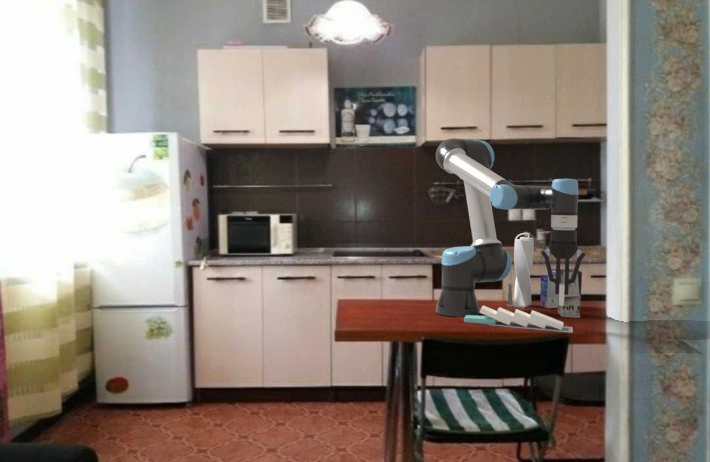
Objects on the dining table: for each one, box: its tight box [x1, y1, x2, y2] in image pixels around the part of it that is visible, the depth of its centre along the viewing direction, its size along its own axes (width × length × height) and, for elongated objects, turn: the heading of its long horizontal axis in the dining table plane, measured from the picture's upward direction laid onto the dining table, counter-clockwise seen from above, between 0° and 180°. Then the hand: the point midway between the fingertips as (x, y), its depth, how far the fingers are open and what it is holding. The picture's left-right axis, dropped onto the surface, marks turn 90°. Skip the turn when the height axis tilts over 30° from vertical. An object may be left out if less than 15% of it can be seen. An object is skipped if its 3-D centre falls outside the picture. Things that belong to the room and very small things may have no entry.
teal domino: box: [463, 315, 498, 325], centre depth 179 cm, size 2×5×10 cm
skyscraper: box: [506, 232, 535, 309], centre depth 211 cm, size 8×8×28 cm
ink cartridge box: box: [539, 268, 558, 309], centre depth 209 cm, size 10×6×14 cm, turn 104°
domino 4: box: [529, 310, 564, 330], centre depth 172 cm, size 2×5×10 cm
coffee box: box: [557, 268, 583, 319], centre depth 194 cm, size 9×6×16 cm
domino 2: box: [496, 306, 528, 327], centre depth 176 cm, size 2×5×10 cm
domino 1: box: [479, 304, 512, 325], centre depth 178 cm, size 2×5×10 cm
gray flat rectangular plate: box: [488, 320, 574, 334], centre depth 174 cm, size 25×8×1 cm, turn 69°
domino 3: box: [513, 308, 547, 329], centre depth 174 cm, size 2×5×10 cm
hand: (561, 304), depth 170 cm, fingers closed
